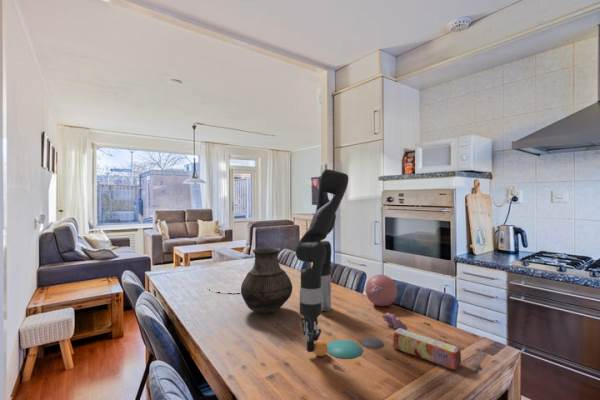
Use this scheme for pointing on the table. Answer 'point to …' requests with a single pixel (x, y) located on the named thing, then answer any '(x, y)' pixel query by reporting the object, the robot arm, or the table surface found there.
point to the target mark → (344, 349)
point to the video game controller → (394, 321)
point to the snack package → (427, 348)
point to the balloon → (381, 290)
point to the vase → (266, 283)
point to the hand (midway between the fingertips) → (310, 350)
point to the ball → (320, 348)
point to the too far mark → (372, 343)
